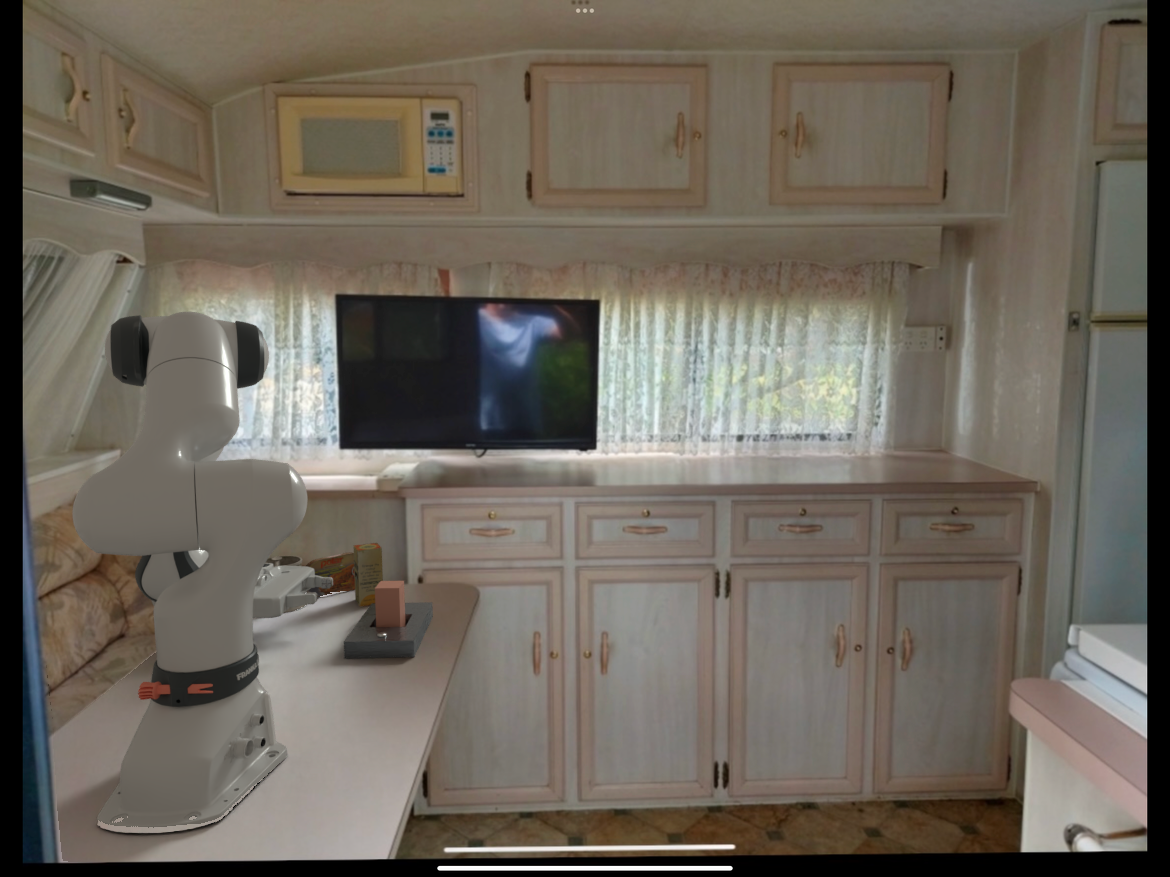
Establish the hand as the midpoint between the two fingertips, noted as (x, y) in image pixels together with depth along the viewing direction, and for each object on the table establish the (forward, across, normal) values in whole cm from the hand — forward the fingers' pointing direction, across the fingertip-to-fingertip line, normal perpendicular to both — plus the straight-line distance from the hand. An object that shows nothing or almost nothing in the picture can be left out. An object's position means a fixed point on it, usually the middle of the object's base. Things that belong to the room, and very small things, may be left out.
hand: (324, 590), depth 137 cm
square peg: (+12, 0, +9) cm, 15 cm away
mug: (-14, +16, +9) cm, 23 cm away
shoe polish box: (+3, +20, +9) cm, 23 cm away
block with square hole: (+12, 0, +9) cm, 15 cm away
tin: (-6, +28, +9) cm, 30 cm away
